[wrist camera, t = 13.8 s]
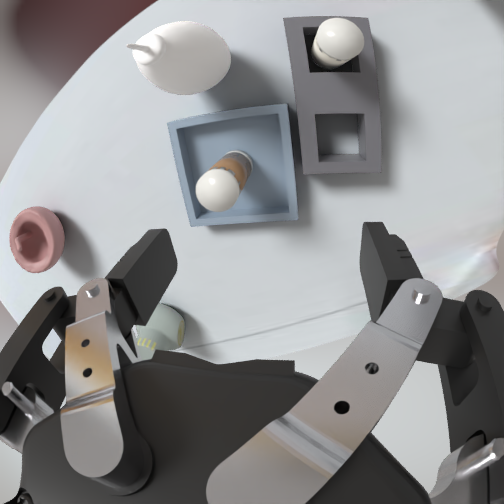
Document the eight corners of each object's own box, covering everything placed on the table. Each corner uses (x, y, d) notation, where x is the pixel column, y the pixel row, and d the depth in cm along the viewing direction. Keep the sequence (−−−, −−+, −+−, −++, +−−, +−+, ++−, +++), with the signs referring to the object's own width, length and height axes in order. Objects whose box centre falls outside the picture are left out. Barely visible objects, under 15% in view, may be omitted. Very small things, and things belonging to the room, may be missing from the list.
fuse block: (284, 26, 24) (283, 18, 20) (360, 25, 22) (368, 18, 19) (302, 165, 33) (303, 174, 30) (372, 163, 31) (381, 172, 28)
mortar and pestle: (83, 223, 43) (43, 258, 33) (68, 260, 49) (35, 294, 39) (43, 184, 40) (0, 211, 30) (33, 224, 45) (-2, 253, 36)
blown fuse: (219, 151, 33) (191, 174, 24) (251, 147, 32) (234, 168, 24) (224, 181, 35) (200, 213, 26) (255, 178, 34) (241, 210, 26)
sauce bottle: (167, 60, 28) (69, 51, 12) (217, 25, 25) (146, -25, 9) (199, 105, 31) (114, 123, 15) (252, 71, 28) (206, 47, 12)
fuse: (308, 39, 24) (313, 17, 16) (342, 39, 24) (360, 18, 15) (313, 69, 26) (320, 59, 18) (346, 69, 26) (367, 59, 17)
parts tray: (176, 120, 32) (167, 122, 29) (287, 103, 29) (286, 103, 27) (197, 217, 39) (190, 226, 36) (298, 210, 36) (298, 219, 34)
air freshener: (144, 290, 49) (120, 328, 40) (185, 301, 48) (165, 343, 40) (149, 328, 55) (131, 364, 46) (186, 339, 54) (170, 378, 46)
